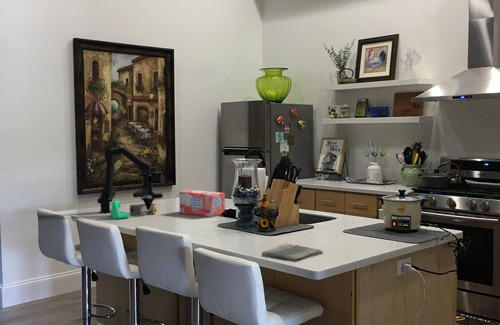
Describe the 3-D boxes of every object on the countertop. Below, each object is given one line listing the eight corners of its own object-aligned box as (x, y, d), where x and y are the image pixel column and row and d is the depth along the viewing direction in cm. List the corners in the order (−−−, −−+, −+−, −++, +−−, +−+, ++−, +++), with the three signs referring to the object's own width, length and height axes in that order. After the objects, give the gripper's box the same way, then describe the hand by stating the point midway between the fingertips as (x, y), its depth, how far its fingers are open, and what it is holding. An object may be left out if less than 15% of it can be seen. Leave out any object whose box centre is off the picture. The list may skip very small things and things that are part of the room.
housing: (128, 213, 346) (128, 204, 346) (149, 210, 354) (149, 202, 354) (133, 214, 340) (132, 205, 340) (154, 211, 348) (154, 203, 348)
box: (226, 214, 332) (225, 191, 331) (210, 217, 322) (210, 193, 322) (194, 211, 350) (193, 188, 349) (178, 213, 340) (178, 191, 339)
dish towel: (296, 263, 215) (296, 255, 215) (260, 257, 227) (260, 249, 227) (324, 254, 229) (324, 246, 229) (289, 248, 241) (289, 241, 241)
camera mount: (130, 218, 327) (130, 200, 326) (118, 220, 322) (117, 202, 322) (122, 216, 337) (121, 198, 336) (110, 217, 332) (109, 200, 331)
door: (152, 214, 338) (152, 206, 337) (154, 211, 348) (154, 204, 348) (156, 214, 338) (155, 206, 338) (157, 211, 348) (157, 203, 348)
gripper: (126, 184, 339) (127, 210, 340) (150, 185, 329) (151, 212, 330) (138, 182, 348) (139, 207, 349) (162, 183, 339) (163, 209, 340)
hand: (148, 209), depth 342 cm, fingers closed
